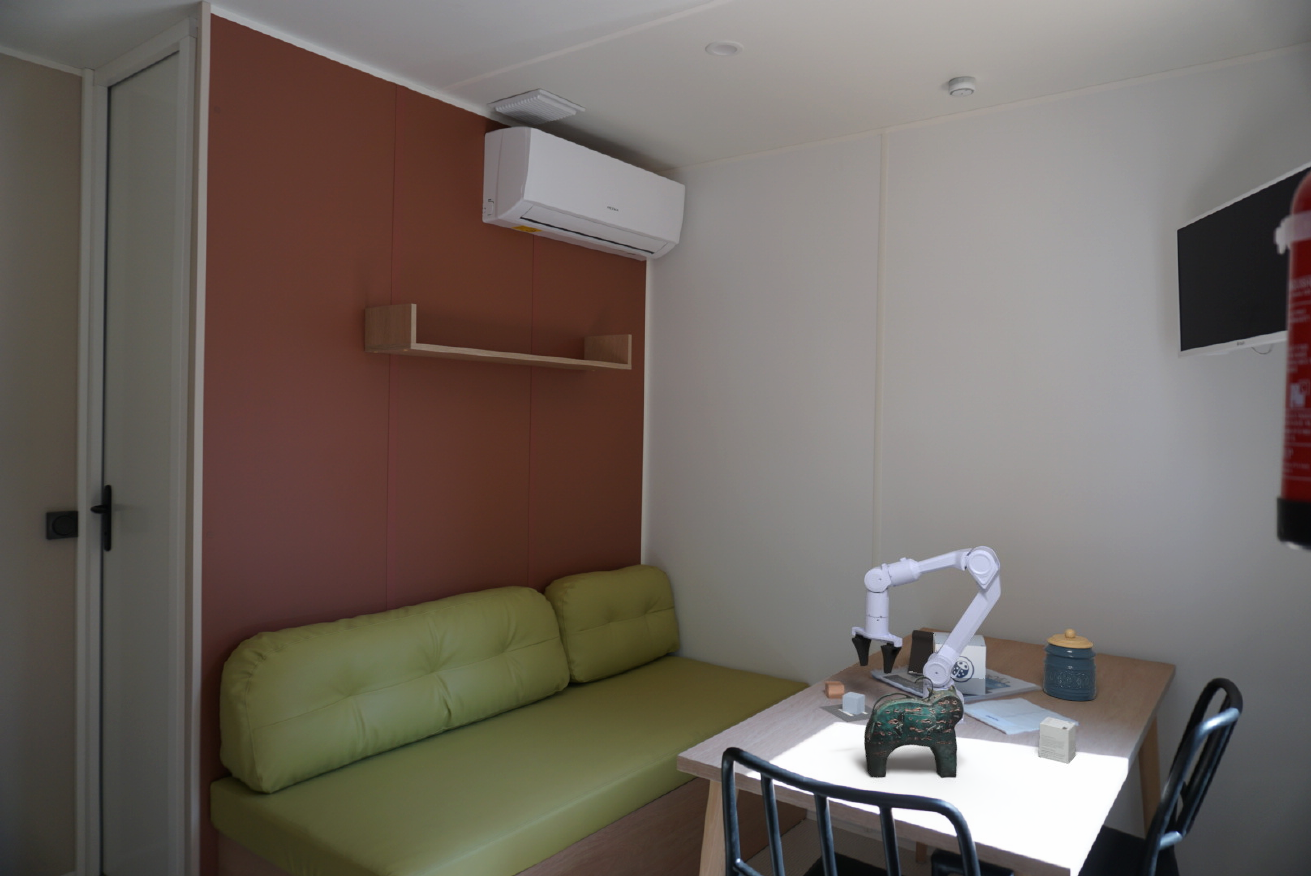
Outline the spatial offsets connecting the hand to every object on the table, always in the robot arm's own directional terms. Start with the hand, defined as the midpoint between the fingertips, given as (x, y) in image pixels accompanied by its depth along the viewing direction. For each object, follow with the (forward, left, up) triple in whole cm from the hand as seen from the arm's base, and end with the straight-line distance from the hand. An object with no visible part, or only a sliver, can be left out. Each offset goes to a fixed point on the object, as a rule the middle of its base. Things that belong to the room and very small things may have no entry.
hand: (875, 669), depth 211 cm
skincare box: (-39, -18, -11) cm, 45 cm away
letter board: (0, +7, -10) cm, 12 cm away
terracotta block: (+12, +4, -11) cm, 16 cm away
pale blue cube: (0, +7, -10) cm, 12 cm away
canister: (-7, -58, -11) cm, 60 cm away
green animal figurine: (-36, +18, -11) cm, 42 cm away
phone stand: (+24, -35, -11) cm, 44 cm away
